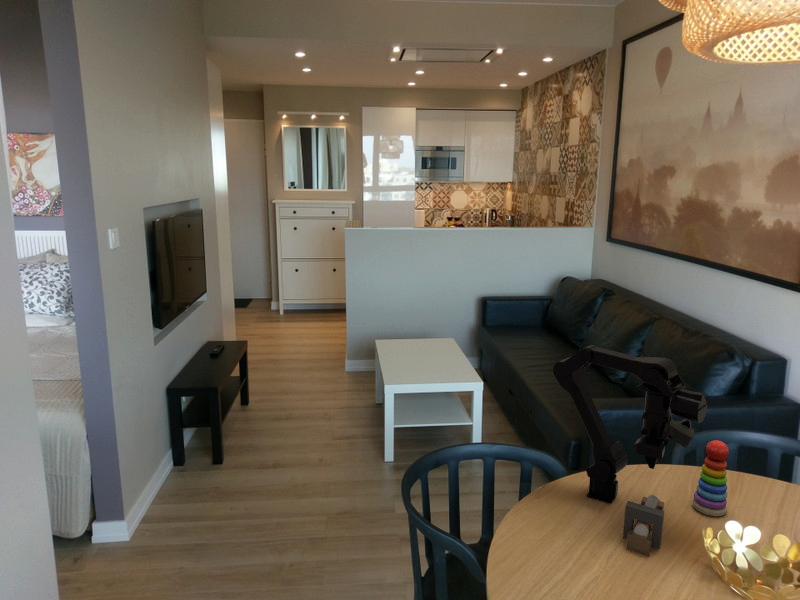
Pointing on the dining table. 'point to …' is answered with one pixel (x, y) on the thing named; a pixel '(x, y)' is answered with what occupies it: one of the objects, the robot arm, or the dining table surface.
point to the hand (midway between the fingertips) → (651, 468)
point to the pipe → (643, 529)
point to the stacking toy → (713, 481)
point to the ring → (644, 520)
